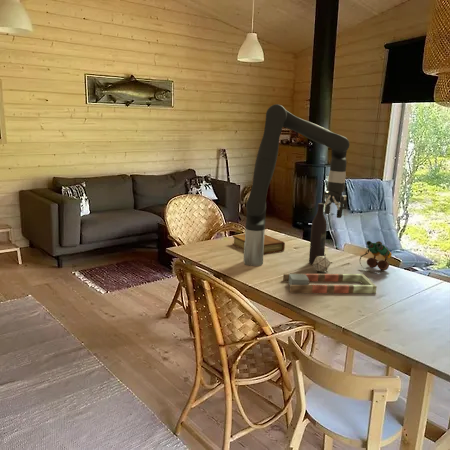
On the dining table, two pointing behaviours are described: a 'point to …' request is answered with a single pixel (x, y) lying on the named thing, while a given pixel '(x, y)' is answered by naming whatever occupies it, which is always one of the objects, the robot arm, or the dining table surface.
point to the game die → (321, 263)
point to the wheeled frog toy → (377, 250)
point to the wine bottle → (318, 234)
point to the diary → (269, 243)
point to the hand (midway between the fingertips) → (332, 215)
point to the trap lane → (365, 288)
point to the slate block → (298, 279)
